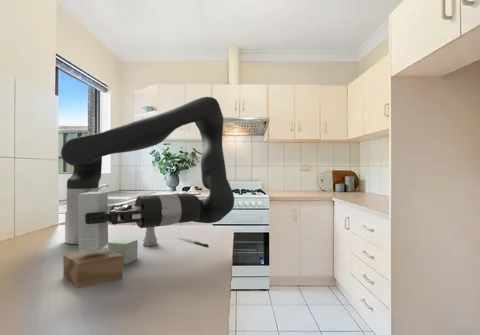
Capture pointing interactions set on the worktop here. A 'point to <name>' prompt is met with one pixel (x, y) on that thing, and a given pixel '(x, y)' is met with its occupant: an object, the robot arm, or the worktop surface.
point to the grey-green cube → (125, 249)
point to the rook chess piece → (150, 237)
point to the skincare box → (92, 234)
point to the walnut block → (92, 267)
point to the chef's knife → (194, 242)
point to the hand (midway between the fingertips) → (82, 216)
